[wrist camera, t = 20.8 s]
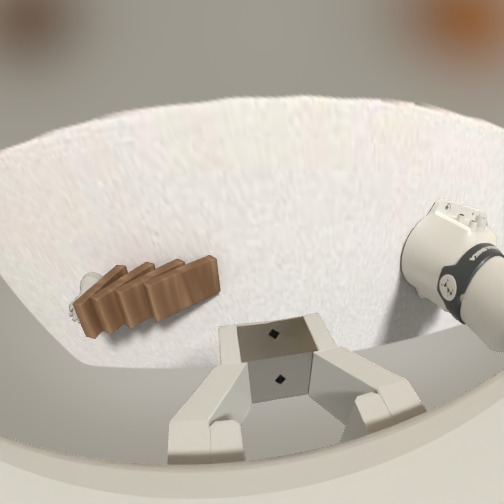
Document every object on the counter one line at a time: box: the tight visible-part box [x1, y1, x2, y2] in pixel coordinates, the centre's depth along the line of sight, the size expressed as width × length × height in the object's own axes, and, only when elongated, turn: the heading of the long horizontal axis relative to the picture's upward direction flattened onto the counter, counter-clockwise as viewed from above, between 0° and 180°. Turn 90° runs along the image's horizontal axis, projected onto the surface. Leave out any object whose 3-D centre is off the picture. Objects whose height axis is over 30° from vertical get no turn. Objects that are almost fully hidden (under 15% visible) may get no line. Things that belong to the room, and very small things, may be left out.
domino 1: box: [72, 265, 127, 339], centre depth 34 cm, size 2×5×10 cm, turn 3°
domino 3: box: [114, 259, 185, 328], centre depth 36 cm, size 2×5×10 cm
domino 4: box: [142, 255, 221, 322], centre depth 37 cm, size 2×5×10 cm
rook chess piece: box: [69, 272, 102, 323], centre depth 35 cm, size 4×4×8 cm
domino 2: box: [90, 262, 155, 334], centre depth 35 cm, size 2×5×10 cm
